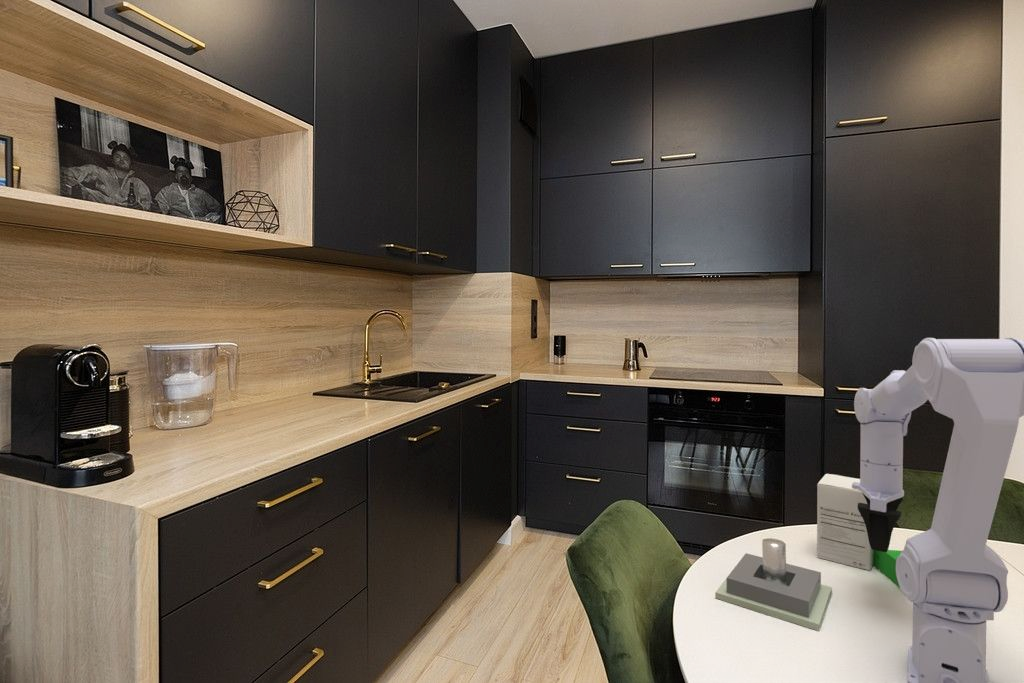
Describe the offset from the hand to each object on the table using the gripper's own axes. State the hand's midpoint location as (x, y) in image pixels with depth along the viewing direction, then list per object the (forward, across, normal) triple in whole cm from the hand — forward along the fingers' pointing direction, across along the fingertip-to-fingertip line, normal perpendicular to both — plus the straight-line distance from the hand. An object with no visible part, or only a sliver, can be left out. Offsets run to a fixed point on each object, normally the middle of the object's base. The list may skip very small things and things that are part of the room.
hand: (880, 542), depth 84 cm
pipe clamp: (+10, -10, +2) cm, 14 cm away
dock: (+9, +10, -14) cm, 20 cm away
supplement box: (+10, -15, -6) cm, 19 cm away
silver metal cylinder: (+8, +10, -14) cm, 19 cm away
